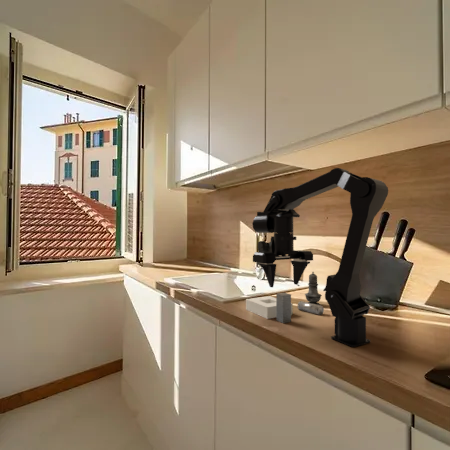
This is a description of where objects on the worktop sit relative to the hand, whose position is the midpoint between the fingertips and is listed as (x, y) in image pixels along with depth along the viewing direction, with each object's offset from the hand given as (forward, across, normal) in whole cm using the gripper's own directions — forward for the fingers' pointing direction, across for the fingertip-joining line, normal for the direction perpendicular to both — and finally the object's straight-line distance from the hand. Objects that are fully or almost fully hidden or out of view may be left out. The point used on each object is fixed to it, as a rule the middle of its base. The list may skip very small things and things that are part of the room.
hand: (283, 285), depth 87 cm
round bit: (+8, -13, -4) cm, 16 cm away
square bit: (+10, 0, 0) cm, 11 cm away
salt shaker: (+11, -22, -10) cm, 26 cm away
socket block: (+10, -2, -10) cm, 15 cm away
